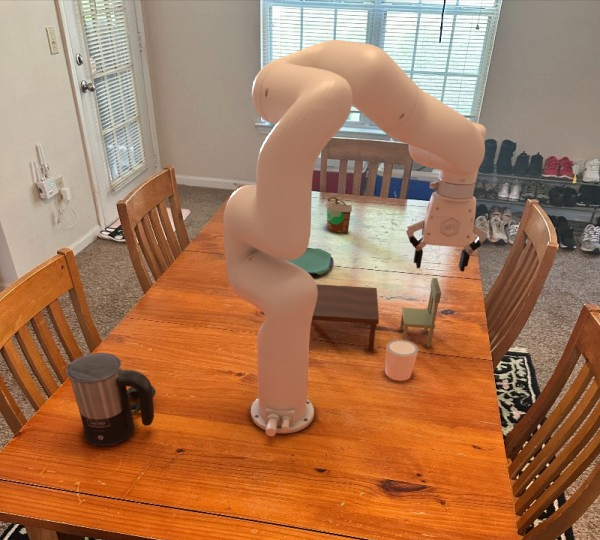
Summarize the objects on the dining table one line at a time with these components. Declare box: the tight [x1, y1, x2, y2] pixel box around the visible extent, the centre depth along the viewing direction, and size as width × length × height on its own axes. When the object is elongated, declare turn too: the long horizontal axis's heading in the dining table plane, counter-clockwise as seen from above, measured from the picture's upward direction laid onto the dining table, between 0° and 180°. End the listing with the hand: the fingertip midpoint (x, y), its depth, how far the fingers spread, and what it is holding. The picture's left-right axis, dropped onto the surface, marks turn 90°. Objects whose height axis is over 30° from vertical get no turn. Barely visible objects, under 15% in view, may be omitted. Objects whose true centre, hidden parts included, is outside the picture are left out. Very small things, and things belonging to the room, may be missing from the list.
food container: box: [324, 194, 353, 235], centre depth 191 cm, size 12×6×10 cm, turn 25°
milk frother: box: [65, 352, 156, 447], centre depth 106 cm, size 14×16×15 cm
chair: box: [399, 277, 442, 348], centre depth 133 cm, size 8×7×14 cm
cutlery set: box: [287, 247, 335, 276], centre depth 170 cm, size 20×30×2 cm, turn 83°
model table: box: [312, 283, 380, 352], centre depth 136 cm, size 16×18×9 cm
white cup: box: [384, 339, 419, 382], centre depth 123 cm, size 7×7×7 cm
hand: (439, 267), depth 126 cm, fingers open, 9 cm apart
